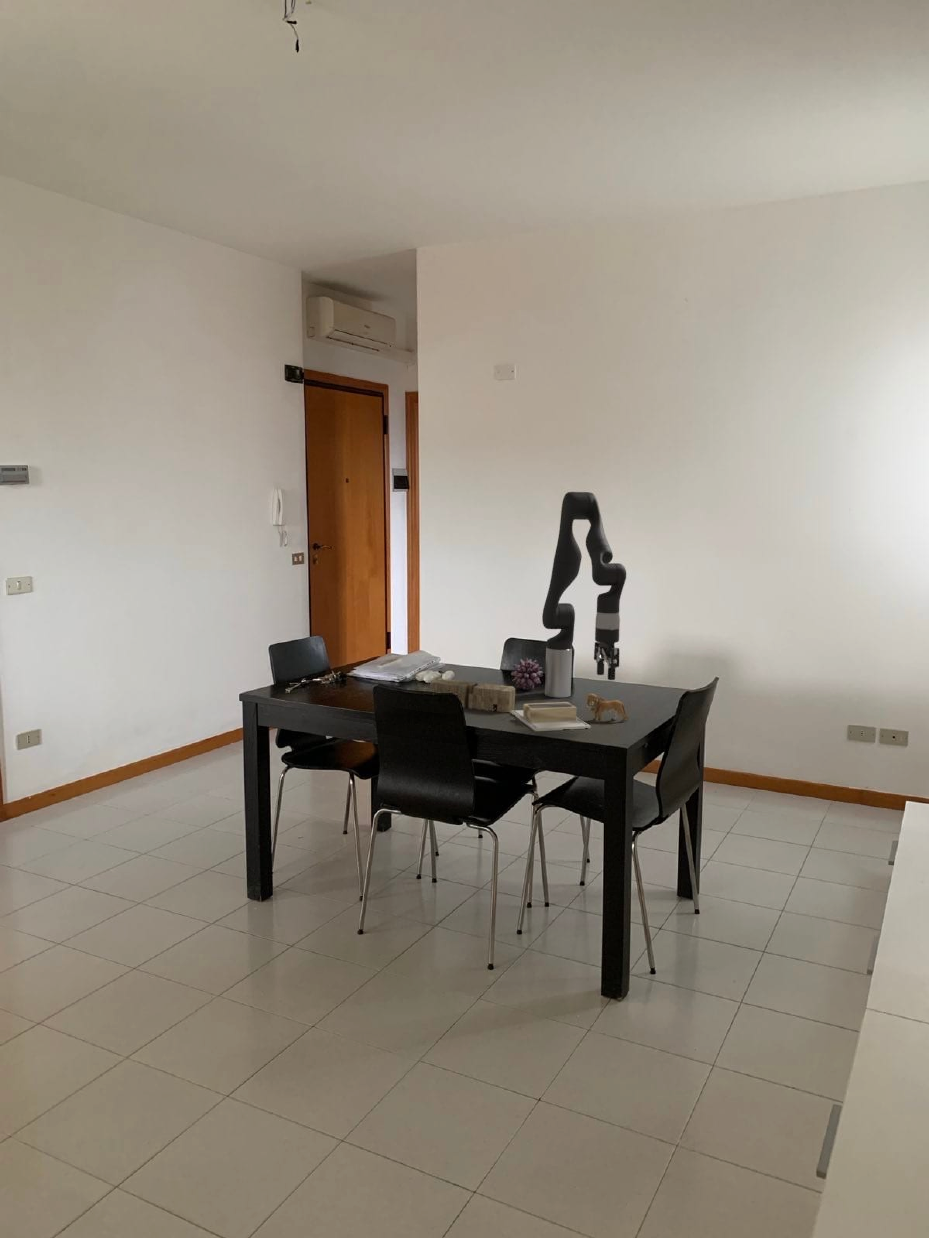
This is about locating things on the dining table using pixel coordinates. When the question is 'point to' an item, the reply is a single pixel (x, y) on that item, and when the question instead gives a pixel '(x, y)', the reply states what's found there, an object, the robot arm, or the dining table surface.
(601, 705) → the lion figurine
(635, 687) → the dining table surface
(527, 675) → the flower
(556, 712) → the wooden box
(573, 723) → the mat
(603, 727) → the dining table surface
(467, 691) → the block tower
